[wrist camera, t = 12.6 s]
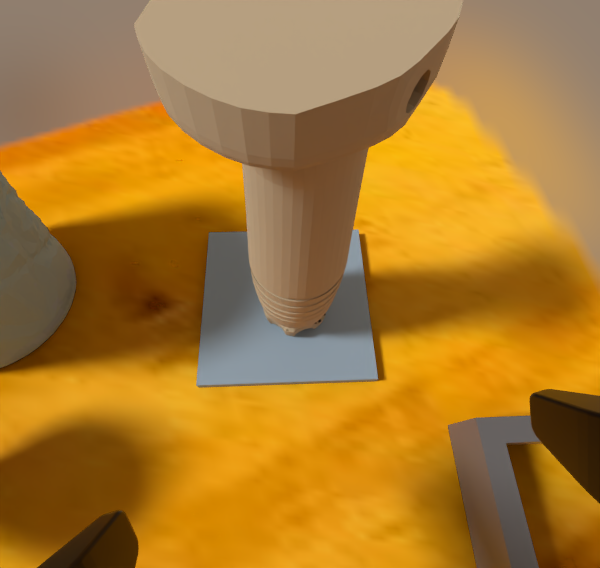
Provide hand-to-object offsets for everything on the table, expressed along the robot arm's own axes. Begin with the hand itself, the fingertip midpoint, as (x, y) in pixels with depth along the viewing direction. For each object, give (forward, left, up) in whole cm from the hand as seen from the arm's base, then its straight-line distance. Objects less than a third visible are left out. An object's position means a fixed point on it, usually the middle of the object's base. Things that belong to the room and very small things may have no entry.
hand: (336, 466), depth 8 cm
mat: (+8, +1, -10) cm, 13 cm away
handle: (+8, 0, -10) cm, 13 cm away
